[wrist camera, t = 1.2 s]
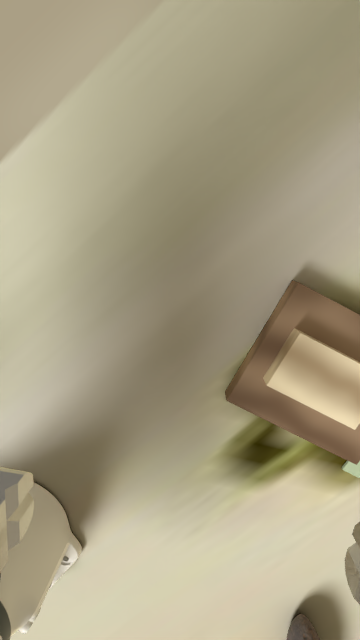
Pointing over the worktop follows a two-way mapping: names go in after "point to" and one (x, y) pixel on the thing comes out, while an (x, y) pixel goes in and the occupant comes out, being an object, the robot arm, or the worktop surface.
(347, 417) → the birch tile
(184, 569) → the worktop surface
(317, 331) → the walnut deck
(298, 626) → the grey stone
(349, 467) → the green mat
